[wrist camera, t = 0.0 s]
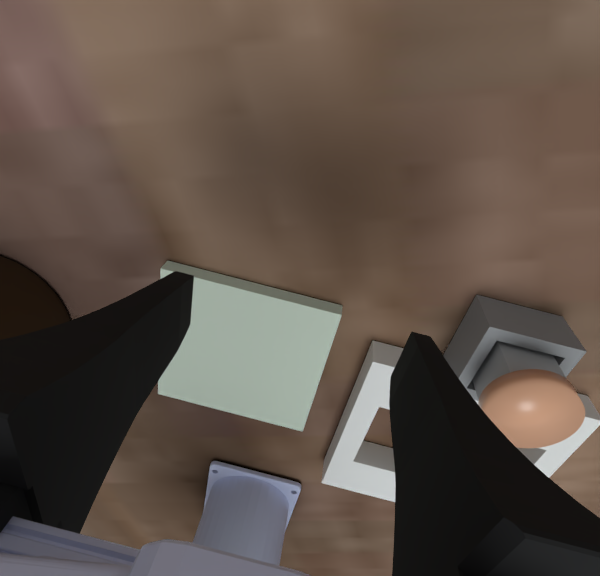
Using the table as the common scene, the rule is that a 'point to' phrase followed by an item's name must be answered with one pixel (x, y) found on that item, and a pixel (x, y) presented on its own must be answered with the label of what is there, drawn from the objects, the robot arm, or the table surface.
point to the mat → (250, 348)
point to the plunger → (527, 396)
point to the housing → (465, 363)
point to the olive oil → (26, 302)
